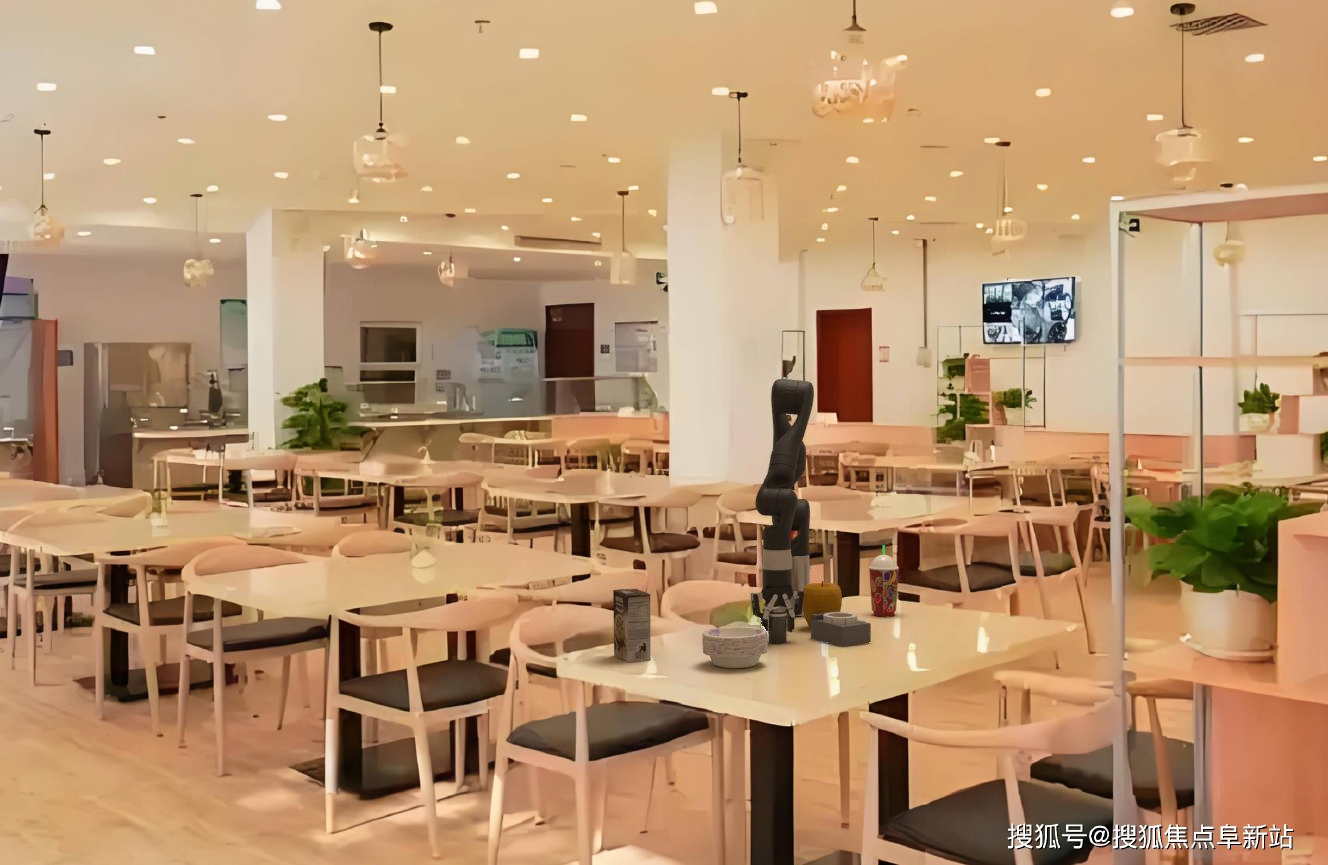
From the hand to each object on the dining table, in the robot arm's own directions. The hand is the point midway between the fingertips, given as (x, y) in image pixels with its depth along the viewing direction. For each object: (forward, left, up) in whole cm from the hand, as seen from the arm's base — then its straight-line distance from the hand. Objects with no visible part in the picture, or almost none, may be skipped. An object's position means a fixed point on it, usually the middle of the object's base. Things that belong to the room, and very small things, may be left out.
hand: (777, 632), depth 322 cm
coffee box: (+7, -40, -3) cm, 41 cm away
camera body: (+3, +16, -3) cm, 16 cm away
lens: (0, 0, -3) cm, 3 cm away
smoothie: (-28, +43, -3) cm, 51 cm away
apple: (-14, +18, -3) cm, 23 cm away
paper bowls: (+22, -19, -3) cm, 29 cm away
